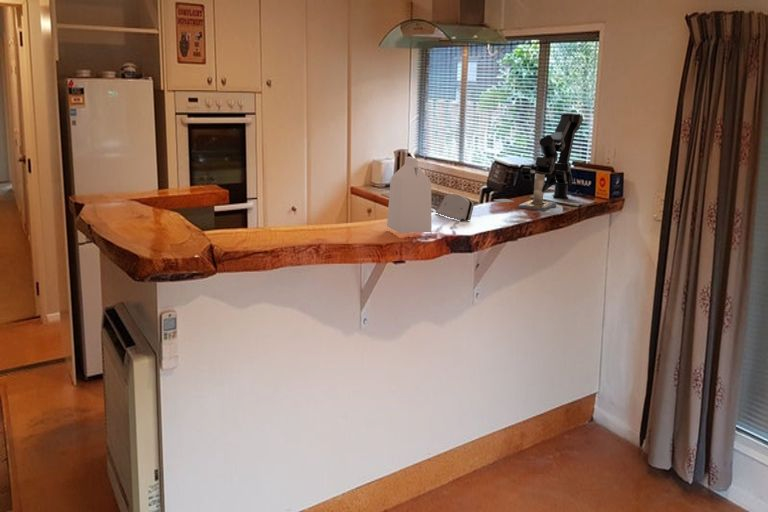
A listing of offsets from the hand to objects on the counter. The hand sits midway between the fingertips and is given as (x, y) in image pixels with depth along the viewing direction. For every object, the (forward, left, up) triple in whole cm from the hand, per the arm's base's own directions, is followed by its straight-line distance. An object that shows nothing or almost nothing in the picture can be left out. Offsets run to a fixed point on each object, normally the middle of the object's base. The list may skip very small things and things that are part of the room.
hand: (537, 191), depth 286 cm
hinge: (+30, -32, -7) cm, 45 cm away
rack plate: (-1, +1, -7) cm, 7 cm away
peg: (-1, +1, -6) cm, 6 cm away
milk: (+63, -46, -7) cm, 78 cm away
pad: (-11, -13, -7) cm, 19 cm away
